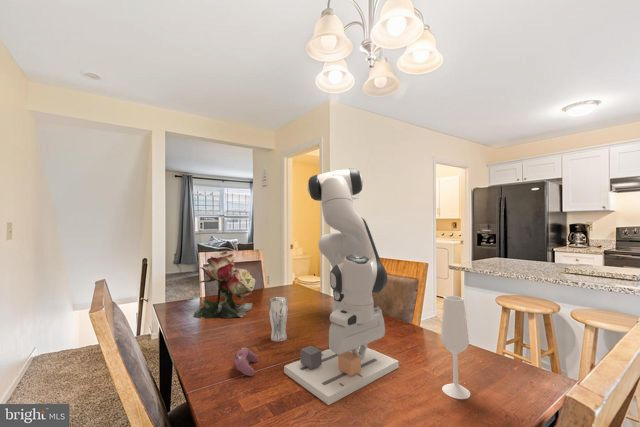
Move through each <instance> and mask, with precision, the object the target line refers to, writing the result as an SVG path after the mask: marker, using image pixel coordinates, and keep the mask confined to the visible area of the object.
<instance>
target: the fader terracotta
mask: <svg viewBox="0 0 640 427" xmlns="http://www.w3.org/2000/svg"><path fill="white" fill-rule="evenodd" d="M338 369H339V370H341V371H343V372H345V373H346V374H348V375H350V376H352V375H354V374H356V373H358V372H360V371H361V357H360V356H358V355H356V354H354V353H352V352H350V351H347V352H345V353H342V354H340V355H338Z"/></svg>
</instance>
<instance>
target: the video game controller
mask: <svg viewBox="0 0 640 427" xmlns="http://www.w3.org/2000/svg"><path fill="white" fill-rule="evenodd" d="M235 357H236V358H235V359H234V365H235V367H236V369H237V370H238V371H239V372H241V373H242V374H243V375H245V376H247V377H253V376H254V375H255V369H254V368H253V367H252V366H251V365H250V364H249V362H251V363H257V362H258V361H259V357H258V355H257V354H255V353H254V352H253V351H251V350H250V348H248V347H246V346H245V347H241V348H240V349H238V351H237V352H236V355H235Z"/></svg>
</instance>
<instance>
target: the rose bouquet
mask: <svg viewBox="0 0 640 427" xmlns="http://www.w3.org/2000/svg"><path fill="white" fill-rule="evenodd" d="M234 261H235V256H234V253H231V251H227V250H224V251H221V253H219V254H216V255H215V256H210V258H207V260H206V263H208V265H207V266H200V267H199V269H201V270H203V272H204V273H205V274H206V275H207V277H208V278H209V279H204V280H201V281H198V284H202V283H212V282H215V281H216V282H217V283H216V285H217V287H218V289H217V294H216V296H217V299H216V301H217V302H214V301H210V300H207V299H205V298H204V299H203V300H201V302H202V303H203V305H204V306H200V307H199V308H198V309H196V310H195V311H194V312H193V316H192V317H193V318H195V319H202V318H203V319H219V318H223V319H231V318H232V319H234V318H237V317H240V318H243V317H244V316H246V315H247V316H248V314H247V313H246V312H248V311H251V310H252V308H253V302H244V298H246V297H249V296H250V295H252V294H253V291H254V288H255V284H256V280H257V279H256V278H253V276H252V275H251V272H250V271H248V270H247V269H245V268H237V267H235V265H236V262H234ZM189 290H190V288H189ZM222 296H223V298H224V300H223V301H221V298H222ZM233 296H235V297H236V298H237V299H238V300H241V301H242V302H244V303H241V304H242V305H237V304H235V301H234V299H233ZM235 305H236V306H235ZM238 313H241V314H242V315H240V314H238ZM201 317H202V318H201Z"/></svg>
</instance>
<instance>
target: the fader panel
mask: <svg viewBox="0 0 640 427" xmlns="http://www.w3.org/2000/svg"><path fill="white" fill-rule="evenodd" d="M359 349H360V347H359ZM357 351H358V352H359V350H357ZM350 352H352V351H351V350H350ZM321 354H322V365H320V366H317V367H315V368H313V369H310V368H308V367H306V366H305V365H303V364H302V363H301V359H299V360H296V361H292V362H290V363H288V364H286V365H283V366H284V367H283V374H285V375H286V376H288V377H289V378H291V379H292V380H294V382H296V383H297V384H299V385H301V387H303V388H304V389H305V390H307V391H308V392H309V393H311V394H312V395H314V396H315V397H317V398H318V399H319V400H321V401H322V402H323V403H324V404H326V405H327V406H330V405H331V404H334V403H336V402H337V401H339V400H341V399H342V398H345V397H346V396H349V395H350V394H352V393H354V392H356V391H358V390H360V389H362V388H364V387H365V386H368V385H369V384H371V383H373V382H375V381H376V380H378V379H380V378H382V377H384V376H386V375H388V374H389V373H391V372H393V371H395V370H397V369H398V368H399V367H400V366H399V362H400V361H399V359H398V360H397V359H395V358H393V357H391V356H388V355H386V354H383V353H381V352H379V351H376V350H374V349H373V348H369V347H367V349H366V352H365V359H363V360H361V371H360V372H358V373H356V374H354V375H352V376H350V375H348V374H346V373H345V372H343V371H341V370H339V369H338V355H339V354H336V353H334V352H332V351H331V350H330V348H328V349H325V350H323V351H322V350H321Z"/></svg>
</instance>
